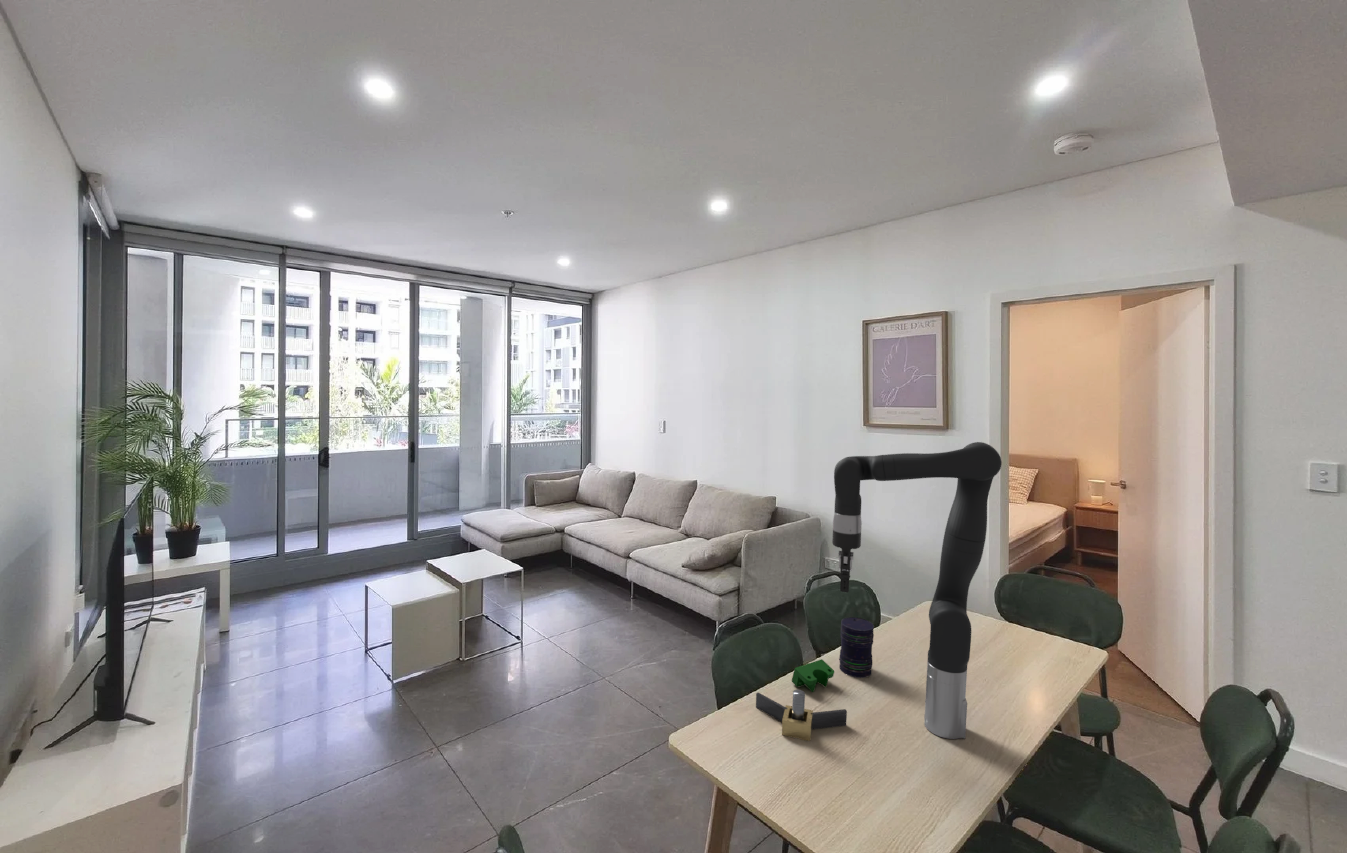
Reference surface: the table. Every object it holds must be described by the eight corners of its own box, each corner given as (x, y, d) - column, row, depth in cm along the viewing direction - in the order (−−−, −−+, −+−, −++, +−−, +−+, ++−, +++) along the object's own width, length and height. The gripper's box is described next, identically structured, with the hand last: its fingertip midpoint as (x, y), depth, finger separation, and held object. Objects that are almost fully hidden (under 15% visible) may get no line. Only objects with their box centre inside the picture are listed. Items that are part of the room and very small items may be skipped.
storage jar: (876, 678, 168) (878, 630, 167) (844, 677, 168) (846, 630, 167) (865, 662, 178) (867, 617, 177) (835, 661, 178) (837, 616, 177)
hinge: (846, 723, 145) (846, 709, 144) (845, 748, 135) (846, 732, 134) (756, 705, 152) (756, 691, 152) (749, 727, 142) (749, 712, 142)
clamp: (807, 705, 161) (804, 685, 156) (793, 691, 165) (790, 671, 161) (837, 682, 165) (835, 662, 161) (823, 669, 170) (820, 649, 166)
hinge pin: (803, 728, 142) (805, 690, 142) (802, 734, 140) (804, 697, 139) (792, 725, 143) (793, 688, 143) (790, 732, 141) (792, 694, 140)
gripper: (861, 536, 144) (858, 597, 145) (861, 524, 158) (858, 579, 159) (831, 534, 147) (829, 593, 148) (833, 522, 160) (831, 576, 161)
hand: (844, 586), depth 153 cm, fingers open, 8 cm apart
